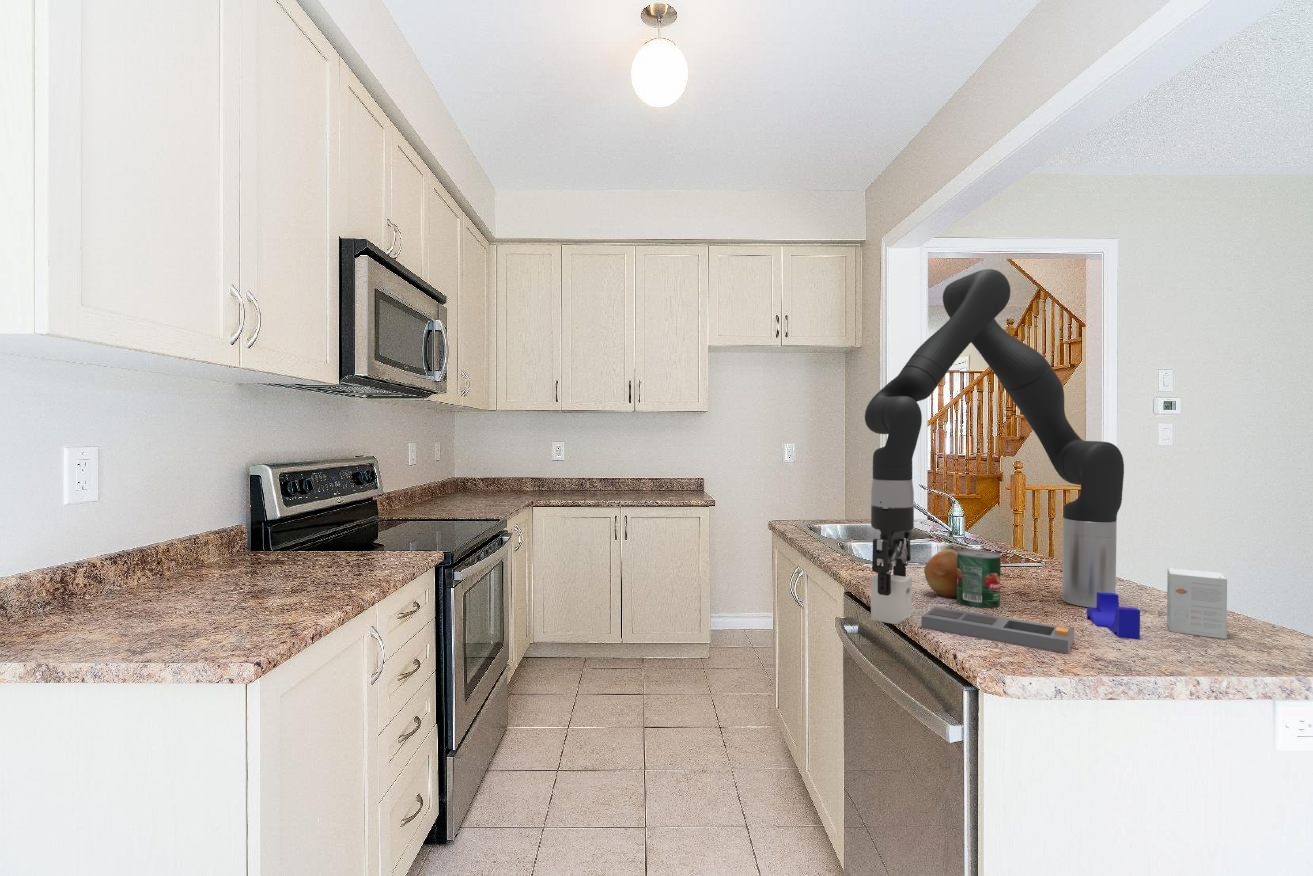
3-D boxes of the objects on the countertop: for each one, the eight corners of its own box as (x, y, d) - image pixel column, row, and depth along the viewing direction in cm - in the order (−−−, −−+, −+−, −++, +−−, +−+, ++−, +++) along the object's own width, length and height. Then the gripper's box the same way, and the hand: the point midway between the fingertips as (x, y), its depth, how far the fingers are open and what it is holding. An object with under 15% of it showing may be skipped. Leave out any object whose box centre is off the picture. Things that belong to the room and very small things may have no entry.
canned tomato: (954, 601, 139) (955, 548, 139) (996, 604, 137) (997, 550, 137) (959, 611, 132) (959, 555, 132) (1003, 615, 129) (1004, 558, 129)
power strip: (934, 622, 124) (934, 603, 124) (1074, 646, 111) (1074, 625, 111) (921, 633, 118) (921, 612, 118) (1067, 660, 104) (1068, 637, 104)
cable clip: (1086, 623, 125) (1087, 591, 124) (1115, 626, 123) (1115, 593, 123) (1108, 643, 113) (1108, 608, 113) (1139, 646, 112) (1140, 610, 112)
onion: (922, 589, 150) (923, 544, 149) (971, 593, 147) (972, 547, 146) (925, 600, 140) (926, 552, 140) (978, 604, 137) (978, 555, 137)
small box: (1222, 631, 119) (1223, 572, 119) (1227, 640, 115) (1228, 578, 114) (1166, 624, 124) (1167, 567, 124) (1168, 632, 119) (1169, 572, 119)
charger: (879, 614, 130) (879, 573, 130) (911, 620, 126) (912, 577, 126) (870, 619, 126) (871, 577, 126) (904, 625, 122) (904, 582, 122)
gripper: (885, 498, 134) (885, 580, 134) (858, 505, 122) (858, 594, 123) (924, 501, 129) (924, 585, 129) (900, 508, 118) (900, 601, 118)
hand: (892, 590), depth 126 cm, fingers open, 8 cm apart
